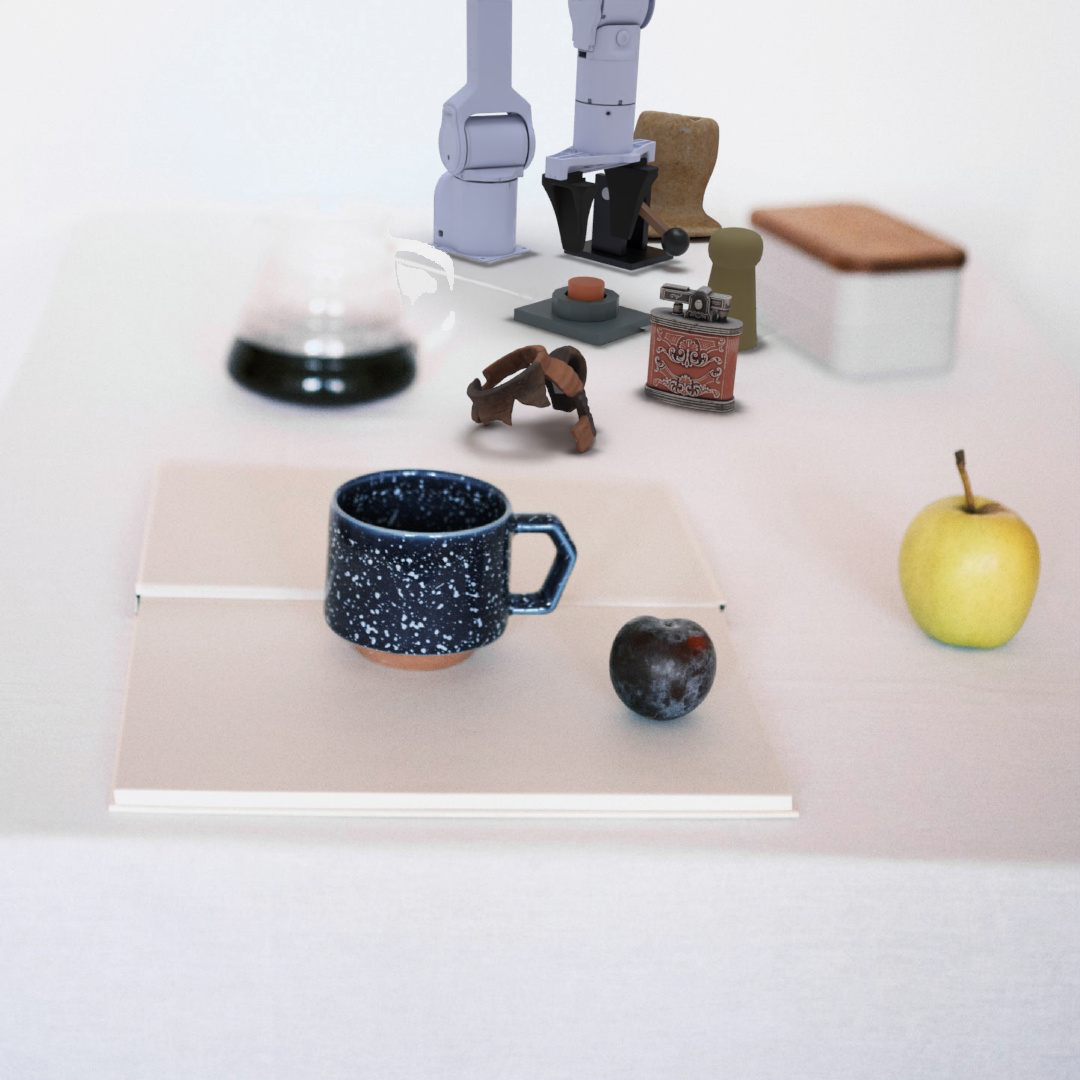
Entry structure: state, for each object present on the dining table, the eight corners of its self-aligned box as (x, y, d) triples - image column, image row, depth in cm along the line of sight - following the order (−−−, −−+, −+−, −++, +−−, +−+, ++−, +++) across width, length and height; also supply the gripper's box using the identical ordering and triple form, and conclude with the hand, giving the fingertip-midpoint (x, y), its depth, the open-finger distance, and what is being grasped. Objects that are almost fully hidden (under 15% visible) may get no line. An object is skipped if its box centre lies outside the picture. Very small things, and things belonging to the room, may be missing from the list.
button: (560, 297, 136) (560, 280, 135) (583, 291, 139) (584, 274, 138) (588, 306, 134) (589, 288, 133) (611, 298, 137) (612, 281, 136)
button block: (513, 320, 138) (514, 290, 136) (571, 302, 144) (572, 274, 143) (598, 346, 131) (600, 316, 130) (655, 327, 138) (657, 297, 136)
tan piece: (706, 223, 178) (717, 103, 171) (728, 247, 167) (741, 120, 160) (590, 222, 176) (597, 100, 169) (605, 246, 165) (613, 117, 158)
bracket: (673, 262, 160) (680, 176, 156) (631, 274, 155) (637, 186, 150) (606, 245, 166) (611, 162, 161) (563, 256, 160) (567, 171, 156)
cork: (737, 356, 130) (749, 241, 126) (683, 341, 134) (693, 229, 129) (768, 341, 135) (781, 229, 130) (715, 328, 138) (726, 218, 133)
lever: (686, 259, 156) (700, 237, 154) (669, 264, 154) (683, 242, 151) (617, 191, 159) (629, 169, 157) (600, 195, 157) (612, 172, 155)
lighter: (738, 402, 119) (751, 290, 115) (726, 415, 116) (739, 300, 112) (652, 386, 122) (660, 275, 118) (638, 397, 119) (646, 284, 115)
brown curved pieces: (579, 474, 105) (527, 385, 102) (486, 495, 111) (434, 412, 108) (636, 390, 113) (590, 305, 110) (547, 414, 119) (500, 334, 116)
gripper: (590, 114, 122) (582, 265, 128) (684, 99, 132) (673, 239, 138) (530, 103, 126) (525, 250, 132) (626, 90, 136) (617, 226, 142)
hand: (597, 244), depth 135 cm, fingers open, 7 cm apart
